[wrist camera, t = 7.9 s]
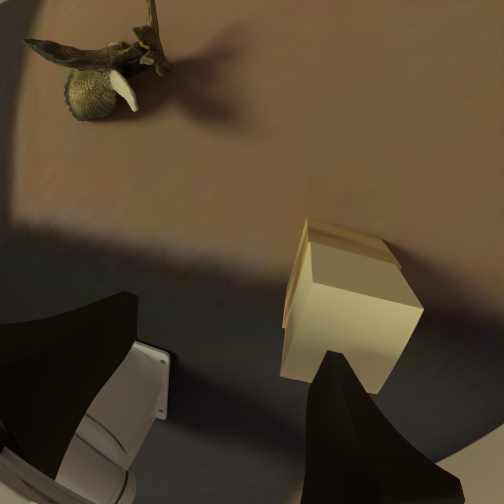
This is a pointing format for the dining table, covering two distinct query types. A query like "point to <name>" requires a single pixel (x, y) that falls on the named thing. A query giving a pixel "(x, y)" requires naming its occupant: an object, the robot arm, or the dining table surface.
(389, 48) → the dining table surface
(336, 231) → the oak base block
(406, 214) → the dining table surface
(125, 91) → the eagle figurine
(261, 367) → the dining table surface
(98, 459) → the robot arm
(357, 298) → the cream block
